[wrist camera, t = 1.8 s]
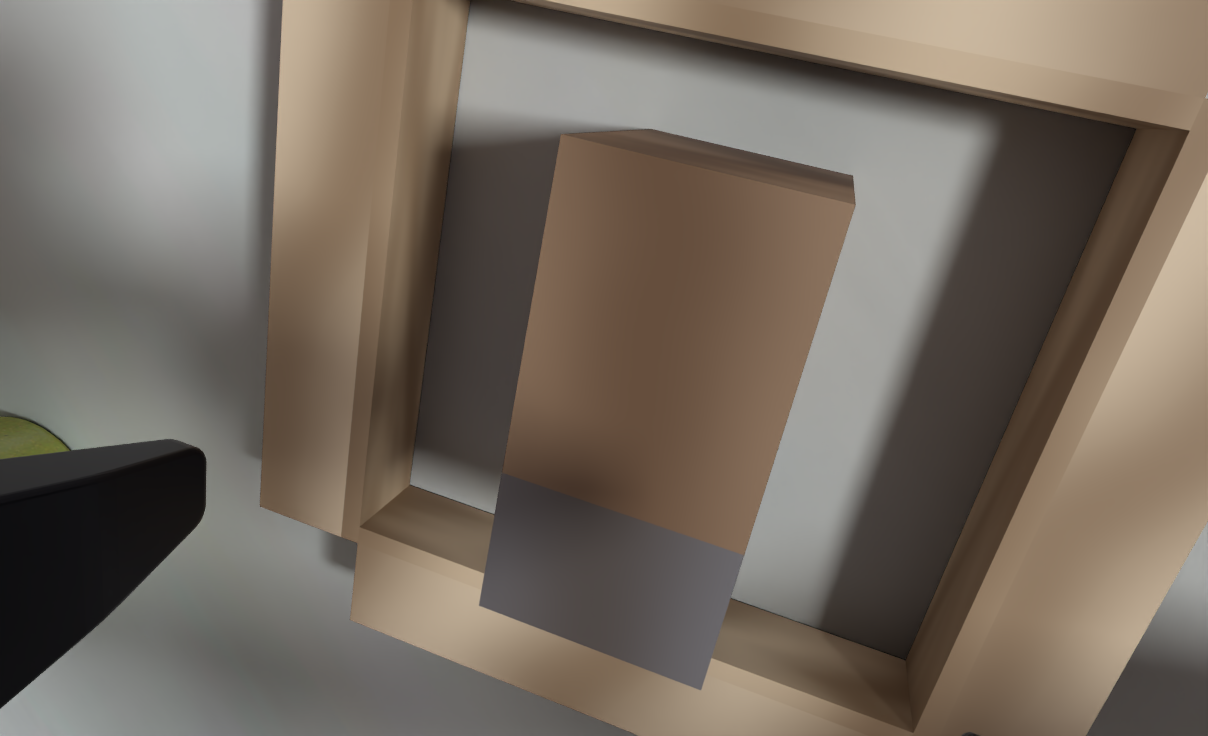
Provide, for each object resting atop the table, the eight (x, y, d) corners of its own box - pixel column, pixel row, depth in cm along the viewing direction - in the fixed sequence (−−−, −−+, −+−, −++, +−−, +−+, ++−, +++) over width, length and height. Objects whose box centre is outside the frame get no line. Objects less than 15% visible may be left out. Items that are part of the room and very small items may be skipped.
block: (852, 175, 16) (855, 204, 11) (741, 530, 20) (701, 690, 14) (651, 129, 17) (560, 134, 12) (576, 475, 21) (478, 605, 15)
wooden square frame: (1408, -15, 13) (1528, -44, 11) (985, 793, 20) (1003, 881, 18) (366, -180, 17) (293, -227, 15) (313, 538, 24) (256, 582, 22)
